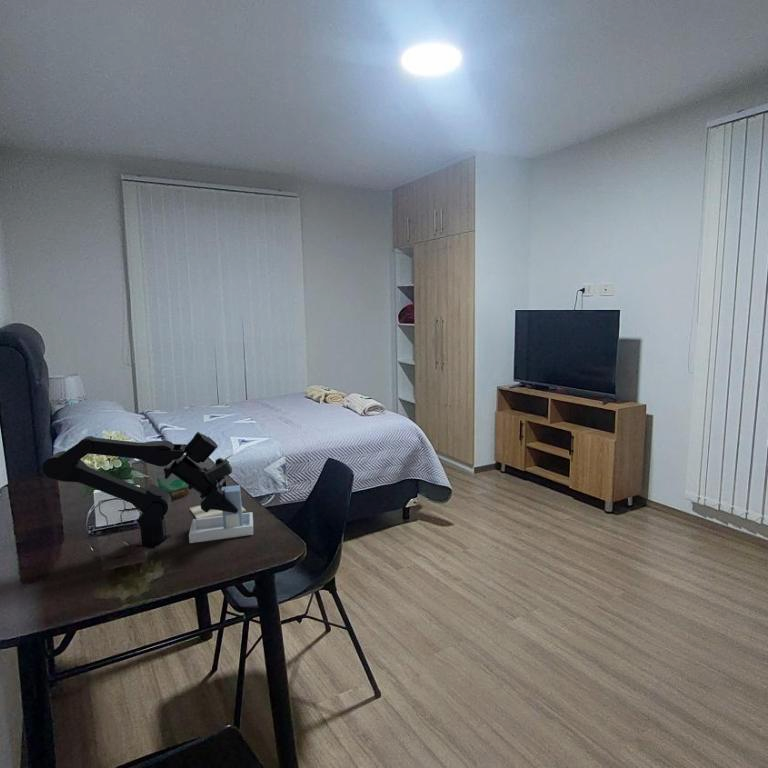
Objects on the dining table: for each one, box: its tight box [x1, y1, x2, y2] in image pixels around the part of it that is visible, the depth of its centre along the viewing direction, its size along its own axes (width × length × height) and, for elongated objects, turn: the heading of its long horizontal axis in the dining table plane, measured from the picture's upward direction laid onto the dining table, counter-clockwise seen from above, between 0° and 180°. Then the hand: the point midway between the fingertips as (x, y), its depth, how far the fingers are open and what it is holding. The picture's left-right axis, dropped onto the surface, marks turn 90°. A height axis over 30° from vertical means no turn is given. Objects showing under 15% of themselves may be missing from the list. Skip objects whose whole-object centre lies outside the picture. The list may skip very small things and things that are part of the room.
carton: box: [221, 484, 243, 528], centre depth 147 cm, size 5×5×12 cm
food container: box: [154, 471, 190, 501], centre depth 178 cm, size 12×6×10 cm, turn 143°
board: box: [189, 504, 248, 519], centre depth 163 cm, size 14×14×1 cm
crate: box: [188, 511, 254, 544], centre depth 147 cm, size 17×11×3 cm, turn 104°
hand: (237, 508), depth 147 cm, fingers closed on carton, 5 cm apart
